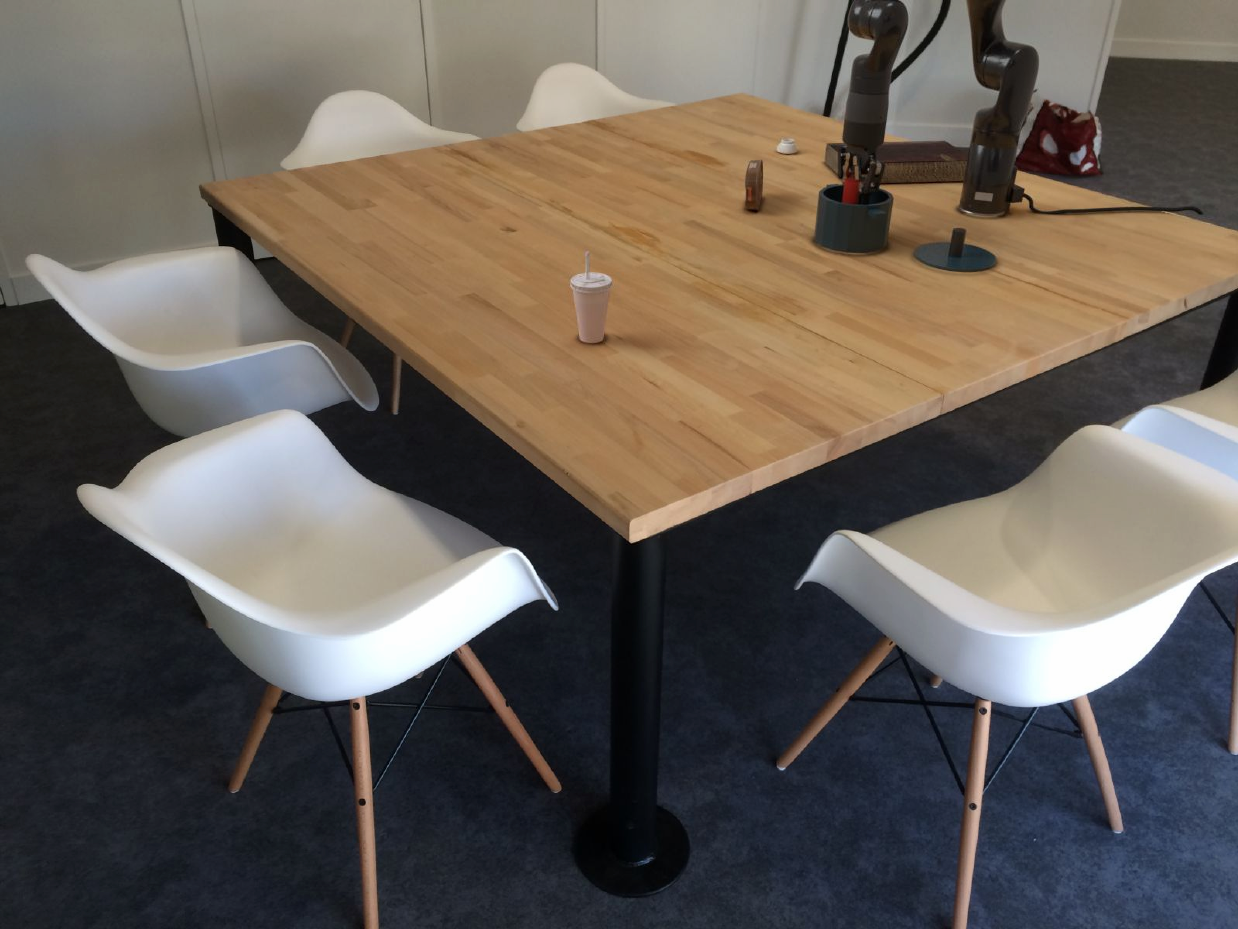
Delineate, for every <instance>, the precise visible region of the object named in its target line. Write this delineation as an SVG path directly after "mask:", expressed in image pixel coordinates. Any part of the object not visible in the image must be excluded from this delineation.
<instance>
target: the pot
mask: <svg viewBox="0 0 1238 929" xmlns="http://www.w3.org/2000/svg"><path fill="white" fill-rule="evenodd" d="M843 189H844V185H843V184H842V183H841V184H839V183H831V184H826V186H825V187H823V188H821V189H820V190H819V191H818V197H817V208H816V214H815V215H816V217H815V225H814V234H813V235H814V236H813V237H814V242H815V243H816V244H818V245H819V246H821V247H822V248H825V249H828V250H831V251H835V252H840V253H847V254H848V253H851V254H864V253H875V252H877V251H880V250H883V249H884V248H885V247H886V246H888V240H889V234H890V226H891V220H892V215H893V214H892V212H893V205H894V195H893V194H892V193H891V192H889V191H888V190H886V189H883V188H880V187H879V190H878V192H877V193H871V195H870V200H869V204H868V205H860V204H848V203H842V198H843Z"/></svg>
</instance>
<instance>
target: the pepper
mask: <svg viewBox="0 0 1238 929" xmlns="http://www.w3.org/2000/svg"><path fill="white" fill-rule="evenodd" d="M865 182H866V181H864V182H863V186H865ZM858 194H859V193H858V182H857V181H856V180H855V177H848V178H846V179H845V183H844V191H843V200H842V203H848V204H857V196H858Z"/></svg>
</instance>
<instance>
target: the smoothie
mask: <svg viewBox="0 0 1238 929" xmlns="http://www.w3.org/2000/svg"><path fill="white" fill-rule="evenodd" d="M570 288H571V289H572V295H573V301H574V307H575V314H576V321H577V330H578V335H579V340H580V341H581V342H583V343H586V344H597V343H598V344H599V343H600V342H603V341H604V337H605V330H606V324H607V323H606V322H607V314H608V306H609V300H610V292H611V289H612V288H613V278H612V277H611V276H610V275H608V274H605V273H602V272H595V271H593V272H590V251H585V272H582V273H578V274H574V275H573V276H572V277H571V278H570Z"/></svg>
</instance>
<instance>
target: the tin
mask: <svg viewBox="0 0 1238 929" xmlns="http://www.w3.org/2000/svg"><path fill="white" fill-rule="evenodd" d="M763 187H764V162H763V159H753V160H749V163H748V165H747V167H746V171H745V178H744V188H745V200H744V207H745V209H746V210H748V211H759V209H760V206H761V202H762V199H763V189H764V188H763Z"/></svg>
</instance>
